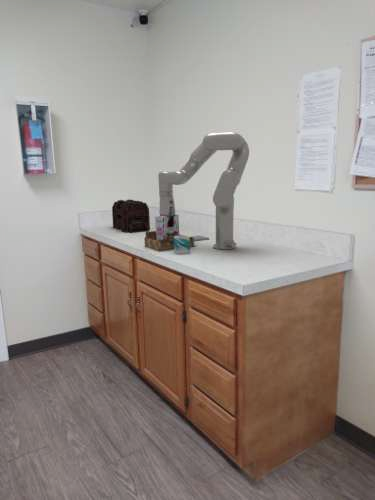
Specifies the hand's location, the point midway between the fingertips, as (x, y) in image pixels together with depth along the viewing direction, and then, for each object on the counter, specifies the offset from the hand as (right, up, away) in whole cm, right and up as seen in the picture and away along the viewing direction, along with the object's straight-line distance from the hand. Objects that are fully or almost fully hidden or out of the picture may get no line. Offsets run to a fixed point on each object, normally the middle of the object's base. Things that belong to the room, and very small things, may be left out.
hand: (167, 226), depth 222 cm
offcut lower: (+4, -13, -5) cm, 14 cm away
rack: (+1, -11, 0) cm, 11 cm away
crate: (-30, +2, +68) cm, 75 cm away
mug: (+8, -14, -14) cm, 22 cm away
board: (+13, -7, +20) cm, 25 cm away
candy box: (0, -10, +2) cm, 11 cm away
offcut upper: (+5, -9, -6) cm, 12 cm away
